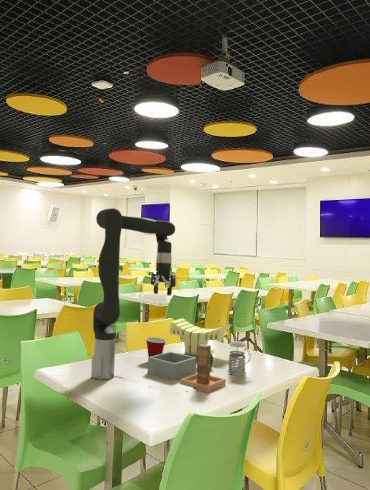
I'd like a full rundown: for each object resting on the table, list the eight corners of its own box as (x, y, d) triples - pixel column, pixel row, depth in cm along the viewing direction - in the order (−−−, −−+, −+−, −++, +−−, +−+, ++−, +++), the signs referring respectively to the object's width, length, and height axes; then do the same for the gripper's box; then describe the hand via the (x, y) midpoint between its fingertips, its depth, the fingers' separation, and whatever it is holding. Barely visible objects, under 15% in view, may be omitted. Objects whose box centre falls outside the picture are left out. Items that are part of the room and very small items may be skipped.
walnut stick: (204, 384, 174) (205, 347, 174) (196, 382, 176) (198, 345, 177) (209, 382, 177) (210, 345, 177) (201, 380, 179) (203, 344, 180)
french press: (231, 368, 204) (233, 318, 205) (253, 372, 198) (255, 321, 199) (222, 373, 196) (224, 320, 196) (245, 377, 190) (247, 323, 190)
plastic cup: (164, 365, 205) (165, 341, 205) (143, 364, 205) (144, 340, 205) (166, 359, 216) (167, 337, 216) (145, 359, 216) (146, 336, 216)
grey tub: (174, 382, 178) (175, 364, 179) (147, 374, 188) (148, 357, 188) (195, 374, 191) (196, 357, 191) (169, 367, 201) (170, 351, 201)
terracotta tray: (207, 392, 167) (207, 386, 167) (180, 385, 175) (180, 379, 175) (225, 384, 178) (225, 379, 178) (199, 378, 186) (199, 372, 186)
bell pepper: (215, 369, 202) (216, 349, 202) (208, 373, 195) (208, 352, 195) (200, 366, 206) (201, 346, 206) (192, 370, 199) (193, 349, 199)
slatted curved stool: (169, 353, 231) (170, 321, 231) (181, 347, 245) (182, 318, 245) (219, 361, 218) (220, 327, 218) (228, 354, 232) (230, 323, 233)
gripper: (148, 261, 204) (146, 293, 204) (169, 262, 195) (168, 296, 195) (158, 261, 210) (156, 293, 210) (179, 262, 201) (178, 295, 201)
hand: (162, 294), depth 202 cm, fingers open, 8 cm apart
